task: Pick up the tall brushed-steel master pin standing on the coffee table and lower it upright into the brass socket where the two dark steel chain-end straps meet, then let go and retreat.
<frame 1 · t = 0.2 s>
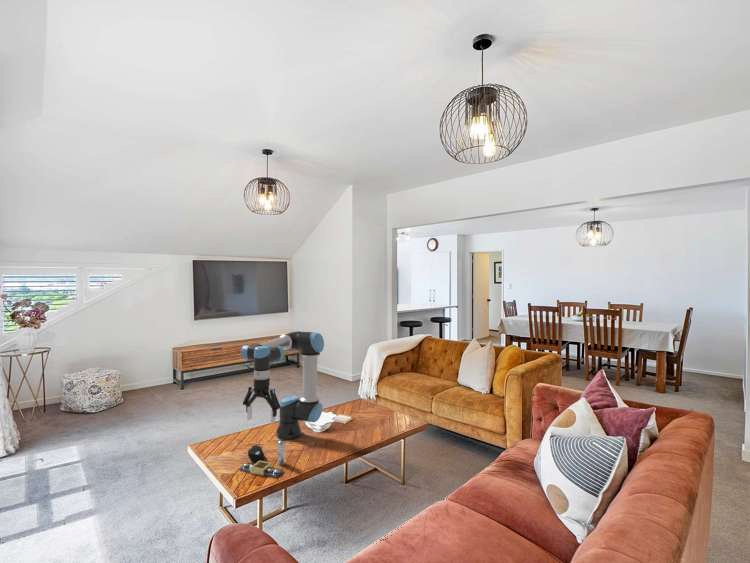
hand: (261, 421, 191), 27 cm above the table, fingers open, 13 cm apart
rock: (255, 459, 209), on the table
master pin: (280, 463, 204), on the table
chain ends: (261, 470, 196), on the table
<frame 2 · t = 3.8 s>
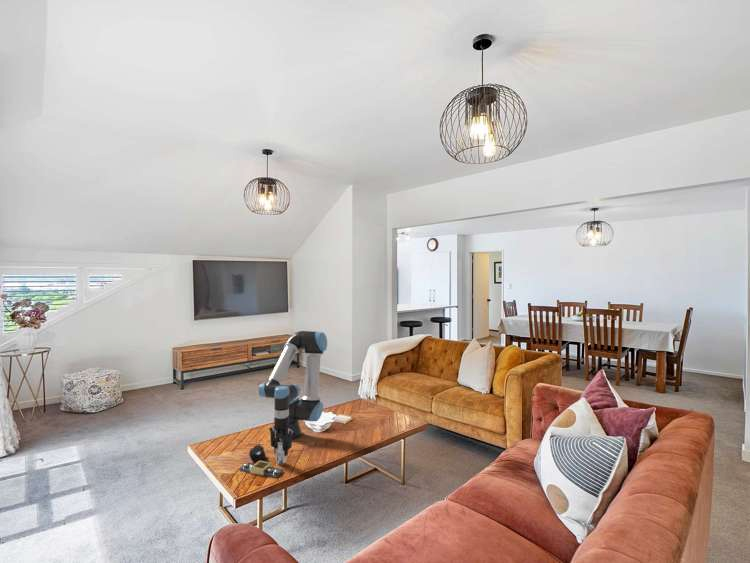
hand: (281, 460, 204), 2 cm above the table, fingers closed on master pin, 4 cm apart
master pin: (280, 463, 204), on the table, touching gripper
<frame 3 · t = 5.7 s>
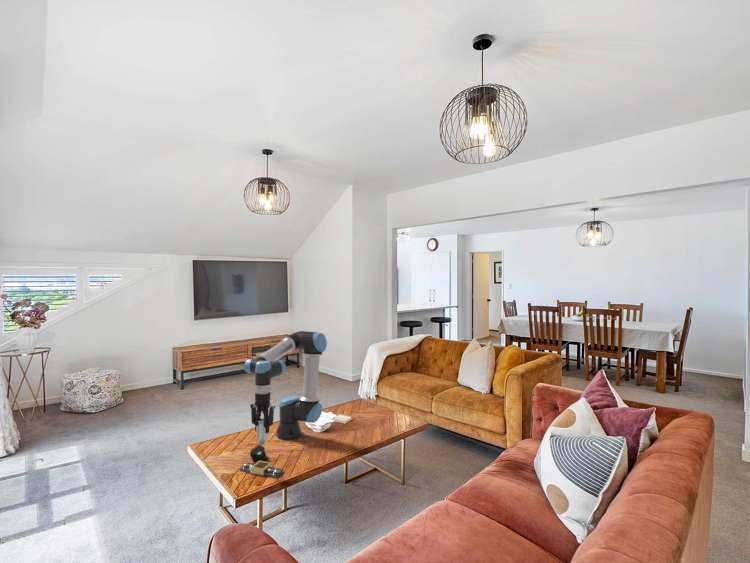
hand: (262, 438, 196), 17 cm above the table, fingers closed on master pin, 4 cm apart
master pin: (261, 443, 196), point 14 cm above the table, touching gripper
when the fingers open (4 cm above the table, at t = 8.0 s): master pin drops 2 cm, resting in chain ends.
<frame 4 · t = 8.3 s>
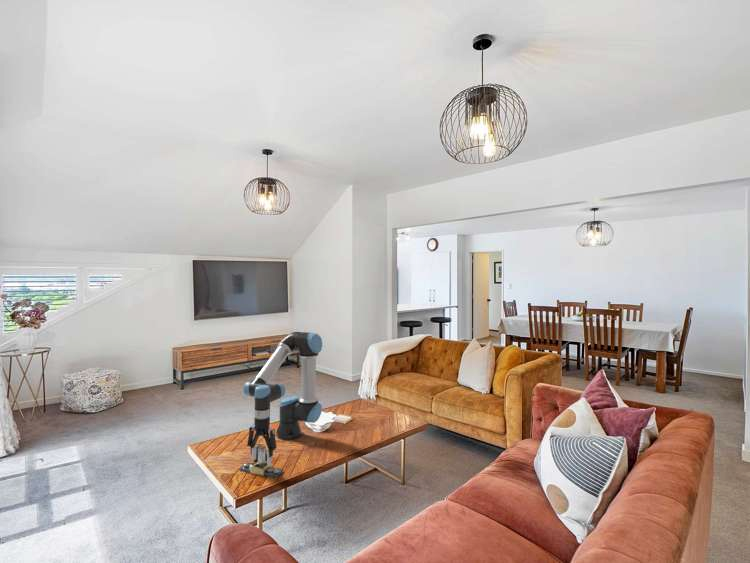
hand: (261, 461, 196), 5 cm above the table, fingers open, 8 cm apart
master pin: (261, 471, 196), resting in chain ends
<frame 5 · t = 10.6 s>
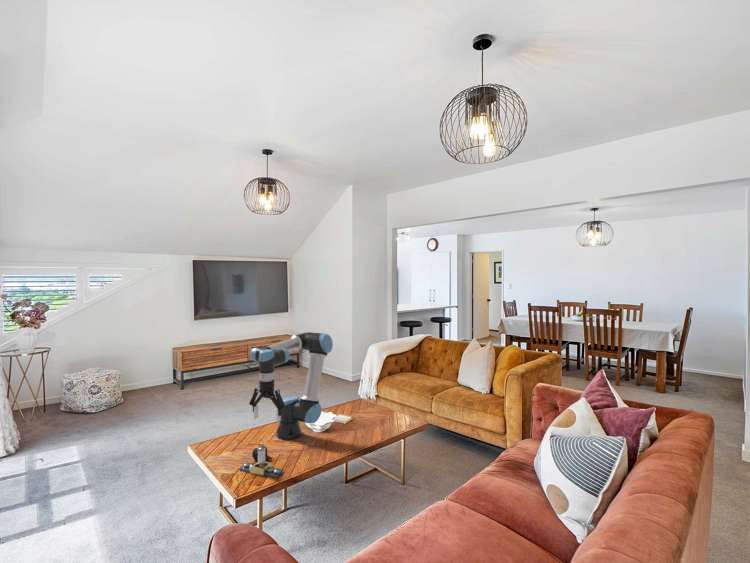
hand: (267, 419, 203), 23 cm above the table, fingers open, 13 cm apart
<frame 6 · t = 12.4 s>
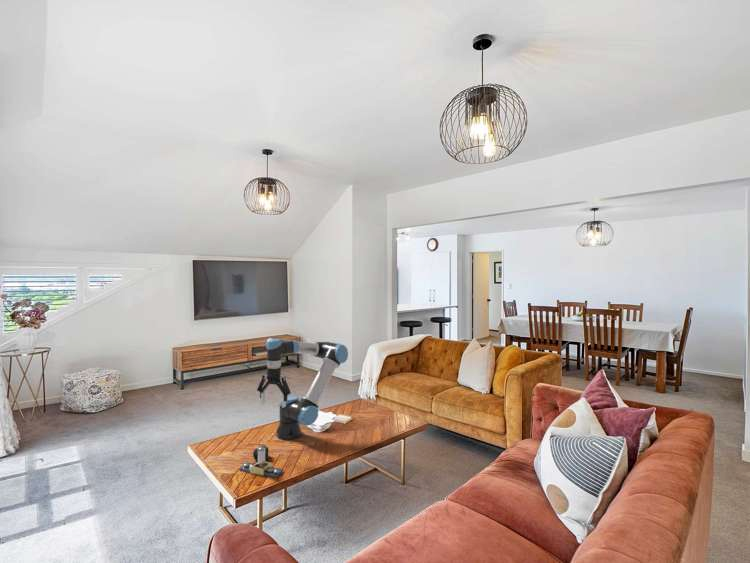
hand: (273, 405, 216), 27 cm above the table, fingers open, 13 cm apart
at the end: master pin 0.0 cm off-centre on the chain ends, point 0.0 cm above the chain ends's base; master pin tilted 0°; the gripper is holding nothing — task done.
